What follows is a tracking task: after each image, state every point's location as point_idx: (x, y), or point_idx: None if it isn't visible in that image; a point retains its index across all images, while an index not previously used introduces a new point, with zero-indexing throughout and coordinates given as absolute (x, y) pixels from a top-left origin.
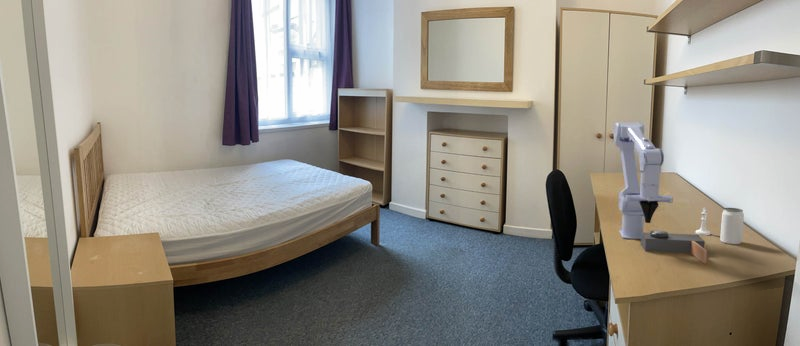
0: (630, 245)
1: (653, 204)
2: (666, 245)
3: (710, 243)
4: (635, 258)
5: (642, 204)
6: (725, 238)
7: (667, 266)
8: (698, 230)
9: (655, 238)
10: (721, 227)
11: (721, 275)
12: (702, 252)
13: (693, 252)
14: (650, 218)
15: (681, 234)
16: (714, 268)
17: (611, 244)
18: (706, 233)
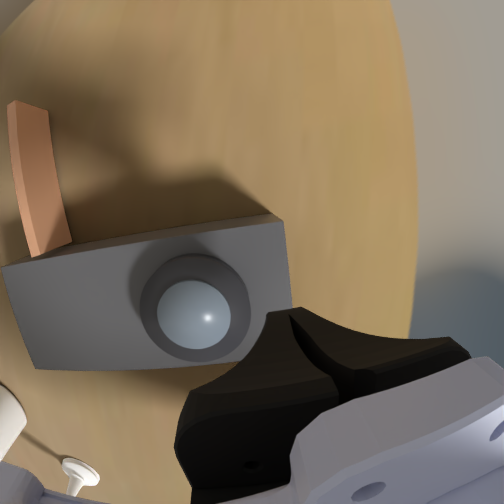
0: (333, 289)
1: (282, 399)
2: (163, 233)
3: (38, 389)
4: (321, 87)
5: (468, 357)
6: (2, 399)
7: (189, 25)
8: (88, 478)
9: (221, 243)
10: (2, 436)
11: (35, 28)
12: (24, 117)
13: (58, 213)
14: (273, 321)
15: (89, 364)
16: (30, 84)
17: (408, 276)
18: (67, 461)
